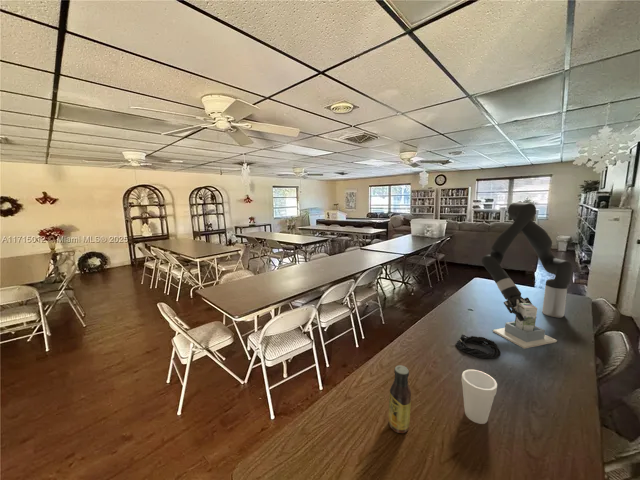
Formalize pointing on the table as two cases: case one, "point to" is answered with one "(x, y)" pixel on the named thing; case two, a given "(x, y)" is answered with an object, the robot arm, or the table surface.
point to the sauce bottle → (400, 401)
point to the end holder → (524, 336)
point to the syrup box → (526, 317)
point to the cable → (479, 341)
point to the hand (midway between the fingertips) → (528, 319)
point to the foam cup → (478, 395)
